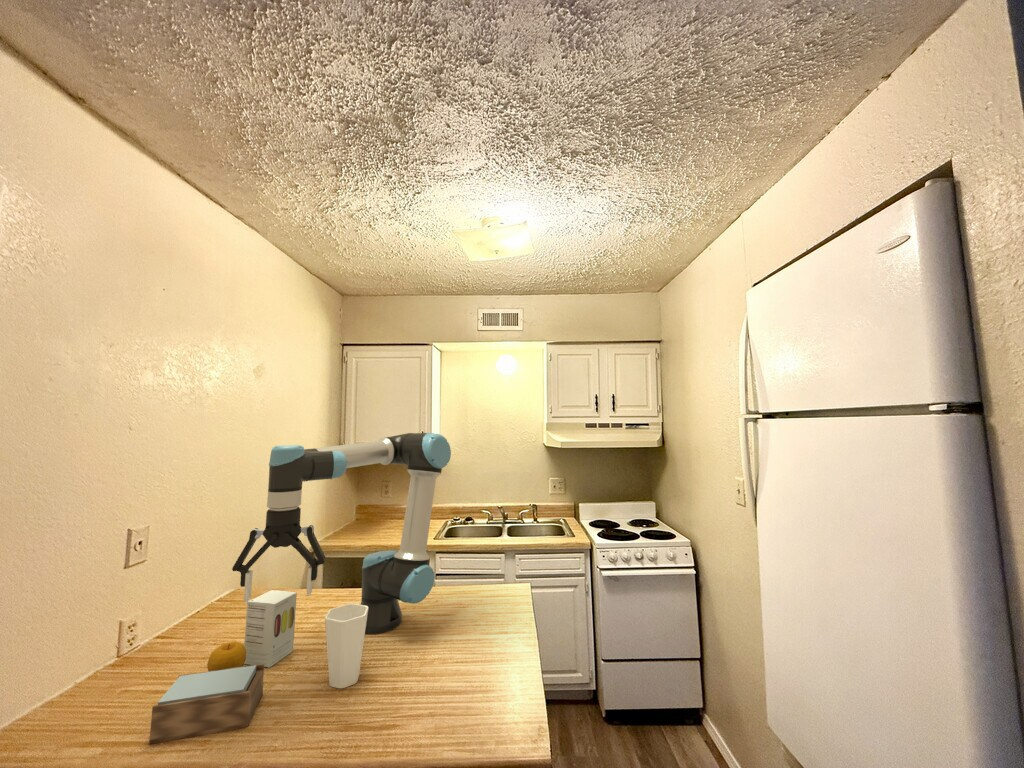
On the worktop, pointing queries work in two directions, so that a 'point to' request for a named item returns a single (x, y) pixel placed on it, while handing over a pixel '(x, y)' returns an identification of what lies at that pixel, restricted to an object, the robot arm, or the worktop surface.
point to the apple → (227, 656)
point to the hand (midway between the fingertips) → (278, 597)
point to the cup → (345, 643)
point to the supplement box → (270, 627)
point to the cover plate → (209, 684)
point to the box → (206, 712)
